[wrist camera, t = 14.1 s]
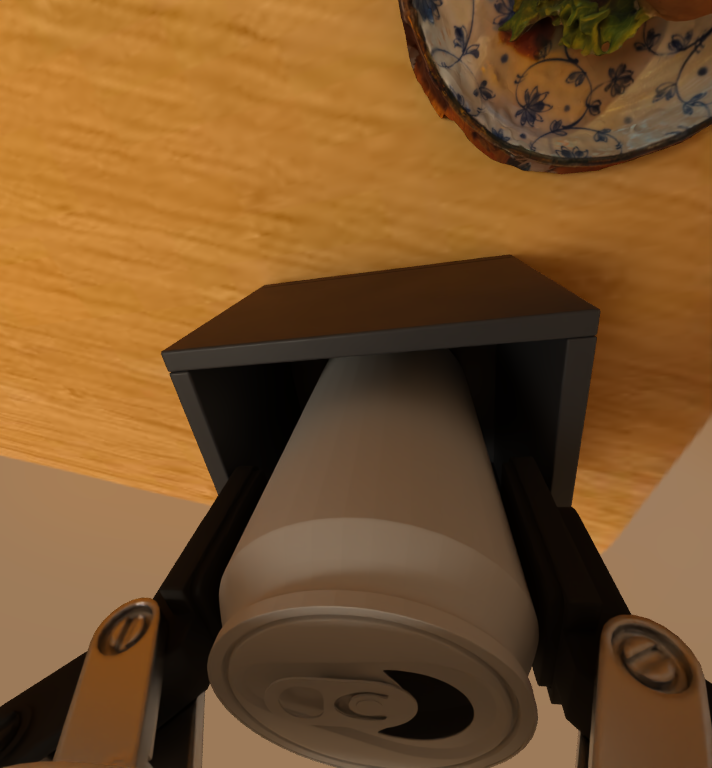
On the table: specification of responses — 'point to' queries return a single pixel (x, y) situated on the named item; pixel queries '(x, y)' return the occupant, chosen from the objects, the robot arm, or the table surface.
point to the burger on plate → (565, 76)
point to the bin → (393, 335)
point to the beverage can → (381, 582)
